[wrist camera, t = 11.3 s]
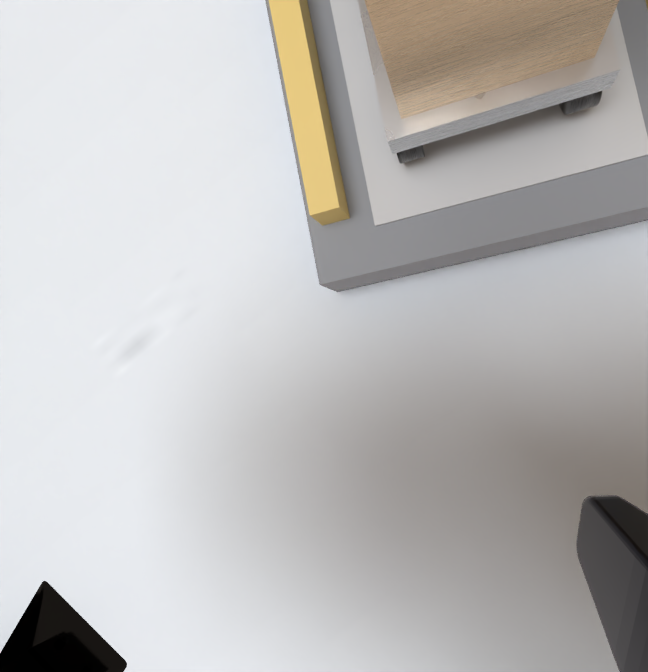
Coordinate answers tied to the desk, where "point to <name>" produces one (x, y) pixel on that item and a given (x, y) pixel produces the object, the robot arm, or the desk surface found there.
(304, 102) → the dock
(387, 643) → the desk surface
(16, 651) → the build plate
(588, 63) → the trolley
